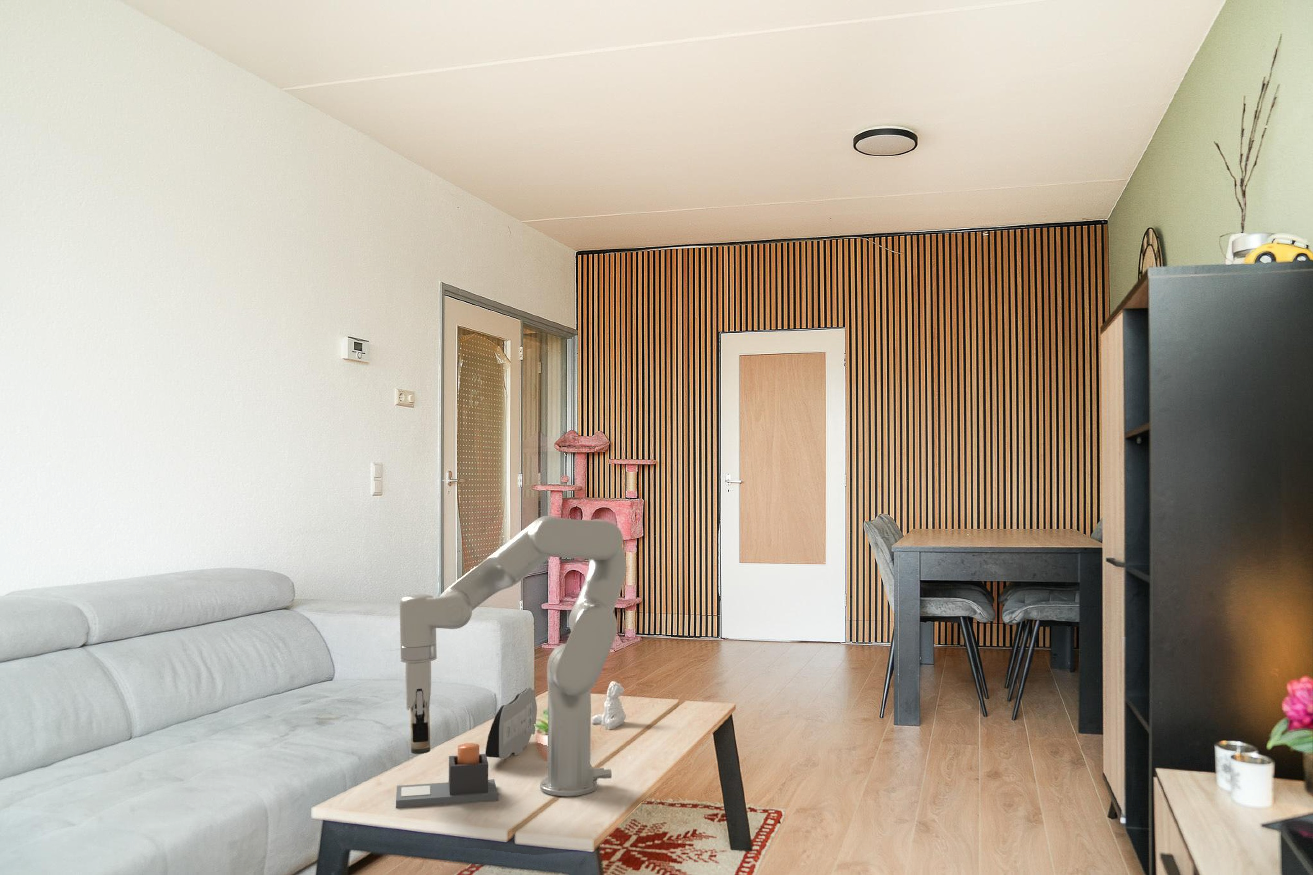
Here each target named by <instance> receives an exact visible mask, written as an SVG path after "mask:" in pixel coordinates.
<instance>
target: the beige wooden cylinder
mask: <svg viewBox="0 0 1313 875" xmlns="http://www.w3.org/2000/svg"><path fill="white" fill-rule="evenodd" d="M415 708H417V705H416V706H415ZM423 708H425V703H424V705H423ZM426 708H427V706H426ZM423 712H424V711H423ZM409 713H410V752H411V754H413V755H423V754H426V753H429V752H431V727H430V726H431V724H430V722H431V721H430V717H431V716H430V706H429V707H428V708H427V710H426V713H427V722H428V741H427V742H416V743H414V742H413V729H412V723H414V720H413V707H412V708H409ZM416 713H417V711H416Z"/></svg>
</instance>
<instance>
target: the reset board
mask: <svg viewBox="0 0 1313 875" xmlns="http://www.w3.org/2000/svg"><path fill="white" fill-rule="evenodd" d="M395 795H396V796H395V808H396V809H397V808H398V809H399V808H414V807H427V806H440V805H452V804H453V805H454V804H455V805H456V804H466V803H467V804H468V803H469V804H470V803H481V802H494V801H495V802H496V801H499V793H498V789H497V785H496V781H495V778H494V779H489V762H488V757H486V754H485V753H481V754H480V753H479V763H477V764H461V765H458V755H449V756H448V782H446V781H445V782H434V783H421V784H420V783H419V784H418V783H417V784H416V783H415V784H406V785H405V784H403V785H396V794H395Z"/></svg>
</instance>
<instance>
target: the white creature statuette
mask: <svg viewBox="0 0 1313 875" xmlns="http://www.w3.org/2000/svg"><path fill="white" fill-rule="evenodd" d="M606 691H607V692H606V699H605V702H604V703H603V710H604V711H603V713H601V714H600V713H599V714H595V715H594V716H591V724H592V725H600V726H603V727H604V728H605V730H608V731H611V730H614V729H616V728H618V727H620V726H622V725H623V724H624V723H625V720H626V718H627V714H626V713H625V711H624V708H623V706H622V701H621V699H620V698H619V697H620V696H621V695H623V693H624V692H625V688H624V687H623V686H622V684H621V683H618V682H617V681H612V680H611V682H610V683H609V684H608V688H607V690H606Z"/></svg>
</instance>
